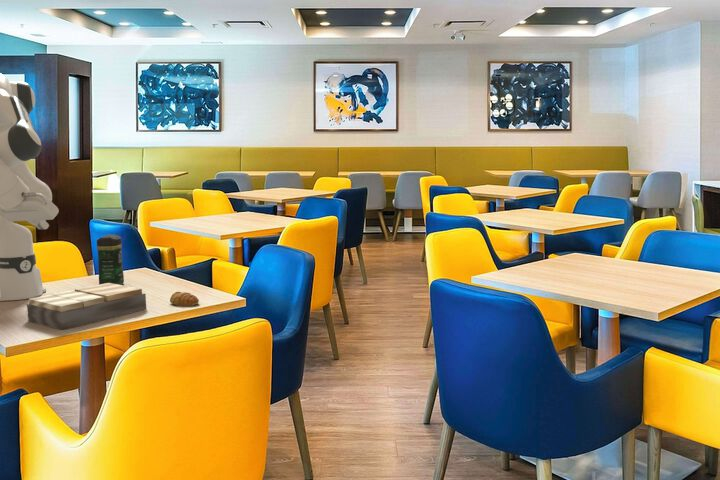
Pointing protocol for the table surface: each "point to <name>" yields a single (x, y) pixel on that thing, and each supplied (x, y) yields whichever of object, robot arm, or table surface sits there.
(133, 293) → the plank
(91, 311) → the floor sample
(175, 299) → the pastry
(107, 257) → the coffee jar
